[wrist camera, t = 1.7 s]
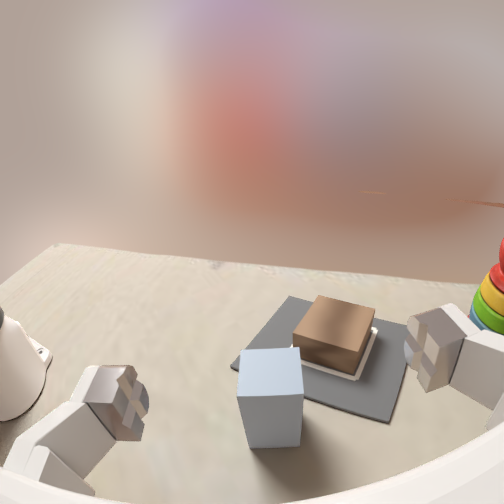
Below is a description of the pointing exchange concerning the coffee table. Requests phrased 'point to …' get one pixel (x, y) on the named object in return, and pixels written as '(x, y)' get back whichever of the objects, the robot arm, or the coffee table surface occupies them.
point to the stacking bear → (490, 299)
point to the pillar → (271, 396)
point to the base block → (334, 333)
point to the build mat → (338, 382)
